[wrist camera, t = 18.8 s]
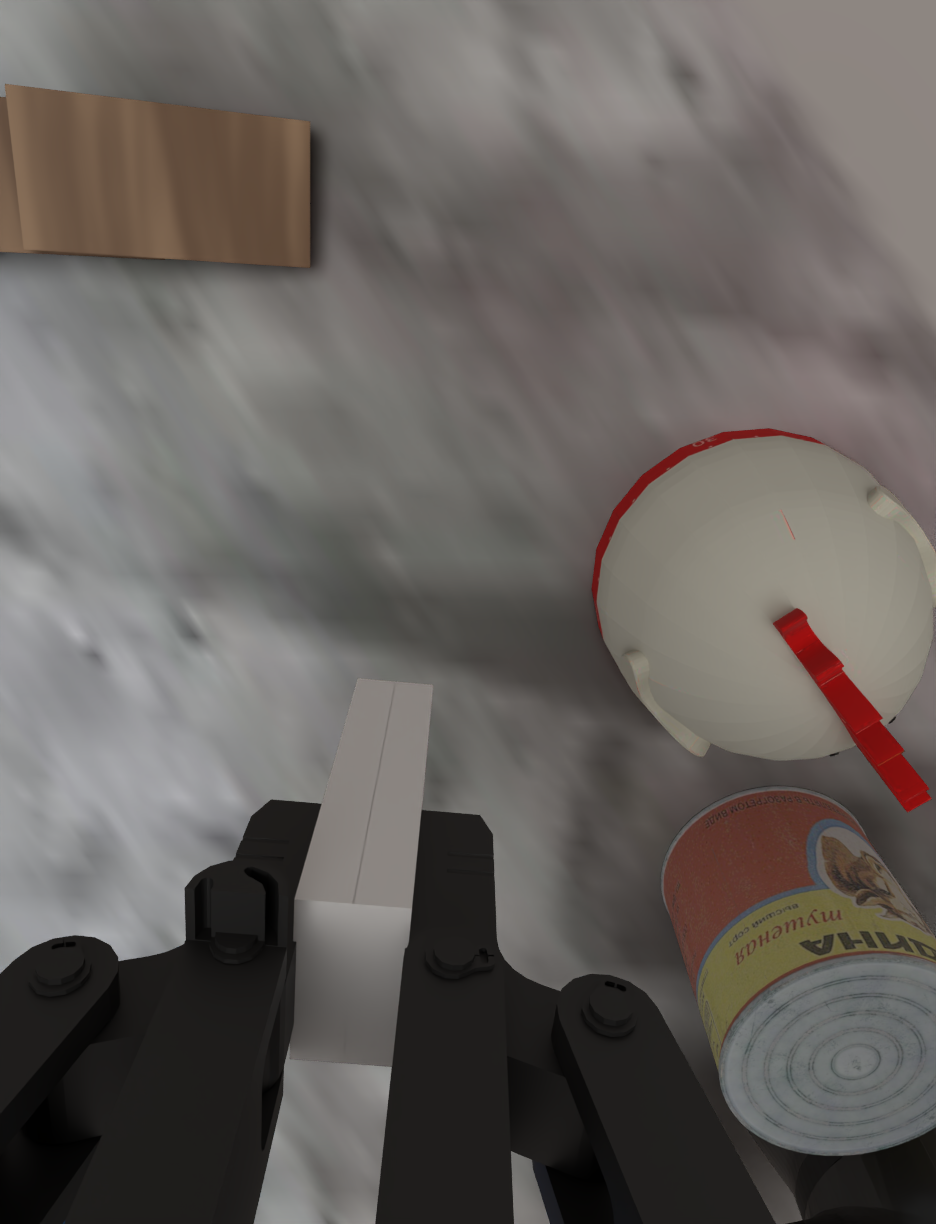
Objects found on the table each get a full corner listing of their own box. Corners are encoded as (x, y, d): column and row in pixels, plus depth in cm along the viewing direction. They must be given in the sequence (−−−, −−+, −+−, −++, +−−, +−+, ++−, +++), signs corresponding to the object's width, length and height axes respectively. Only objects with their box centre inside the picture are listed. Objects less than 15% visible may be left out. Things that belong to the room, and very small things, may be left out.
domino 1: (154, 112, 32) (-170, 79, 29) (165, 260, 34) (-137, 245, 30) (153, 118, 34) (-152, 88, 30) (163, 258, 35) (-122, 244, 32)
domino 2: (310, 121, 32) (4, 83, 28) (310, 267, 34) (23, 249, 30) (299, 127, 34) (10, 92, 30) (300, 266, 36) (28, 248, 32)
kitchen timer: (691, 755, 45) (793, 982, 31) (533, 551, 40) (569, 707, 26) (941, 601, 41) (1181, 776, 27) (798, 363, 37) (996, 428, 23)
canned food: (912, 836, 46) (1053, 1019, 35) (789, 980, 50) (882, 1186, 39) (735, 753, 44) (825, 919, 33) (621, 909, 48) (668, 1105, 37)
